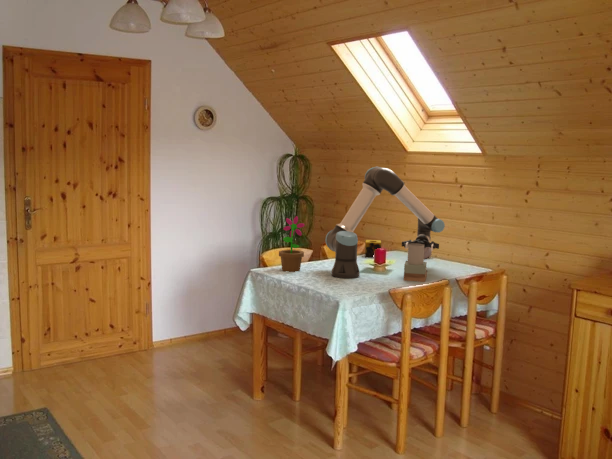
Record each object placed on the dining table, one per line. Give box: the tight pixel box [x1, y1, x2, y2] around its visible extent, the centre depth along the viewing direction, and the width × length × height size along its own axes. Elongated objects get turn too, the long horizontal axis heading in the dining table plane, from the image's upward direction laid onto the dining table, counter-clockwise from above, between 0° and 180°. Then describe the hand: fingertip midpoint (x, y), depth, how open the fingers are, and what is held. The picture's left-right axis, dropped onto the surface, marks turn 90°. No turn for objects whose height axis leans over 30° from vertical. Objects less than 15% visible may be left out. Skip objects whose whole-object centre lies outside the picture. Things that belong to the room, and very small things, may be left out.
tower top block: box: [403, 260, 427, 274], centre depth 338 cm, size 11×11×4 cm
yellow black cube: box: [364, 239, 382, 258], centre depth 402 cm, size 10×10×10 cm
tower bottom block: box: [403, 269, 428, 283], centre depth 339 cm, size 11×11×4 cm
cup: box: [407, 243, 425, 265], centre depth 337 cm, size 8×8×10 cm
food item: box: [424, 247, 433, 260], centre depth 400 cm, size 14×8×10 cm, turn 134°
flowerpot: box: [278, 215, 305, 273], centre depth 352 cm, size 14×14×30 cm
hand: (418, 247), depth 339 cm, fingers open, 13 cm apart
